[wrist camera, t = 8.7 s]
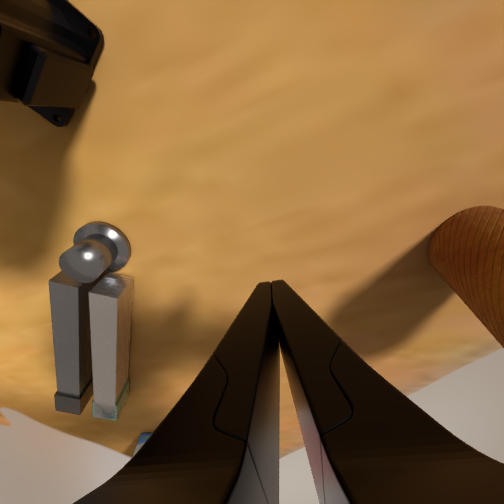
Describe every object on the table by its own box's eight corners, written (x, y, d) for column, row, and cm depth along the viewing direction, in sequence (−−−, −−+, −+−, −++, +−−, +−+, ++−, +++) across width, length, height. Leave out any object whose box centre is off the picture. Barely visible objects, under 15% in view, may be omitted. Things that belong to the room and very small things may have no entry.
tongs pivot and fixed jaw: (70, 212, 20) (35, 229, 17) (133, 230, 20) (111, 250, 17) (74, 383, 30) (53, 413, 27) (116, 391, 31) (101, 421, 28)
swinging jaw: (106, 271, 22) (85, 291, 19) (135, 277, 22) (119, 299, 20) (107, 391, 30) (92, 417, 28) (128, 395, 31) (116, 420, 28)
